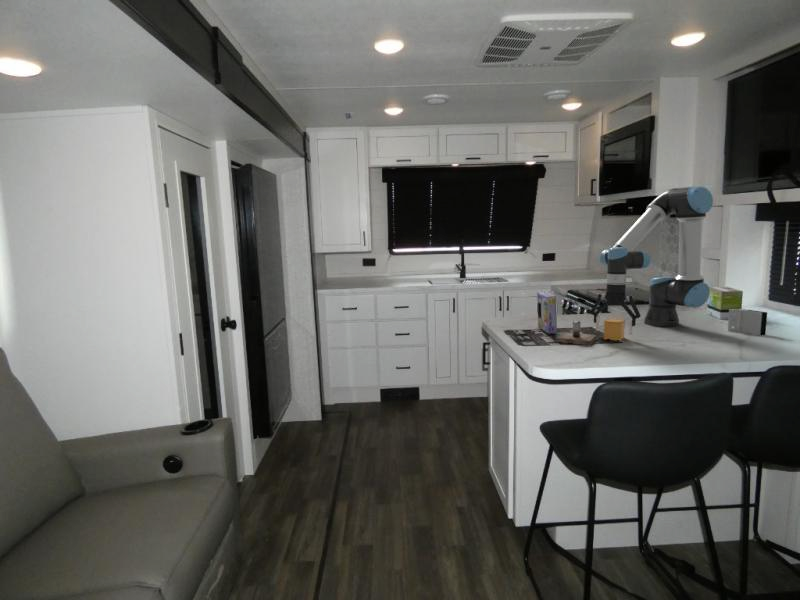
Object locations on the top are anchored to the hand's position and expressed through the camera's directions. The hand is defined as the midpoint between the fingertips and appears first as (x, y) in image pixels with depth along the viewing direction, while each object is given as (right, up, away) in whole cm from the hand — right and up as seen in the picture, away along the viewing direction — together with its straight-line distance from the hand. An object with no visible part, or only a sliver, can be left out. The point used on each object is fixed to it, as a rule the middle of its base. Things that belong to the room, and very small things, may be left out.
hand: (613, 332), depth 215 cm
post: (-17, -2, -2) cm, 17 cm away
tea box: (+74, +5, +40) cm, 84 cm away
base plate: (-17, -4, -2) cm, 18 cm away
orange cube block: (0, -3, +1) cm, 3 cm away
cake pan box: (-23, -1, +21) cm, 31 cm away
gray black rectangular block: (+61, -1, +4) cm, 61 cm away
